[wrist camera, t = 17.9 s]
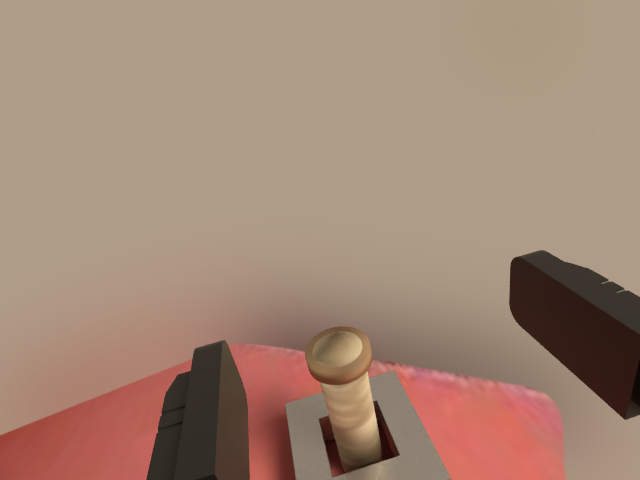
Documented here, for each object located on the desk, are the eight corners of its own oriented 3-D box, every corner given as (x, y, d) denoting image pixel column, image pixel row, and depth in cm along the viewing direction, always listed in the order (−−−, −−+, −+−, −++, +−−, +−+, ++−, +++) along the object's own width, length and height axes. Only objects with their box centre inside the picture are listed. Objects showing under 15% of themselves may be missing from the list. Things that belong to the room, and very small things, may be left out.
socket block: (312, 553, 30) (303, 528, 28) (292, 426, 41) (285, 403, 39) (452, 504, 31) (451, 478, 30) (397, 393, 42) (394, 370, 40)
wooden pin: (343, 497, 33) (311, 381, 27) (330, 445, 38) (300, 337, 32) (398, 478, 34) (379, 361, 28) (379, 429, 38) (358, 320, 32)
